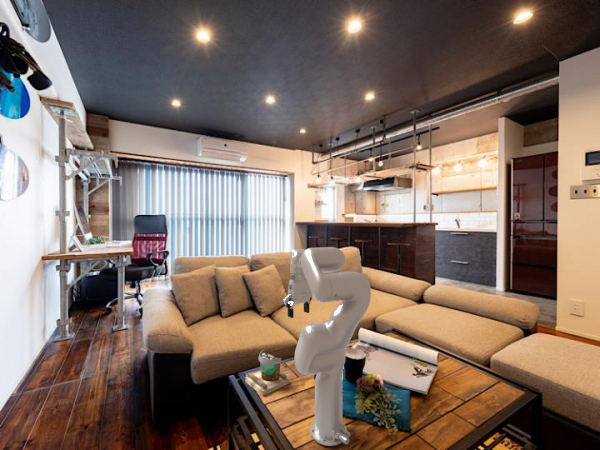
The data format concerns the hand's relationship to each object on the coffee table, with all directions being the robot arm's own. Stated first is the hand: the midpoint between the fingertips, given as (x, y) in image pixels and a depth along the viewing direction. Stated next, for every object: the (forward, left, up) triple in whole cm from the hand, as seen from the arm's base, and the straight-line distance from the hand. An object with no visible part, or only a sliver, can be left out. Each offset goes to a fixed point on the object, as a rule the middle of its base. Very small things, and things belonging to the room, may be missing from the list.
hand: (298, 314), depth 124 cm
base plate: (+9, +11, -30) cm, 33 cm away
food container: (+9, +11, -28) cm, 32 cm away
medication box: (-30, -49, -30) cm, 65 cm away
